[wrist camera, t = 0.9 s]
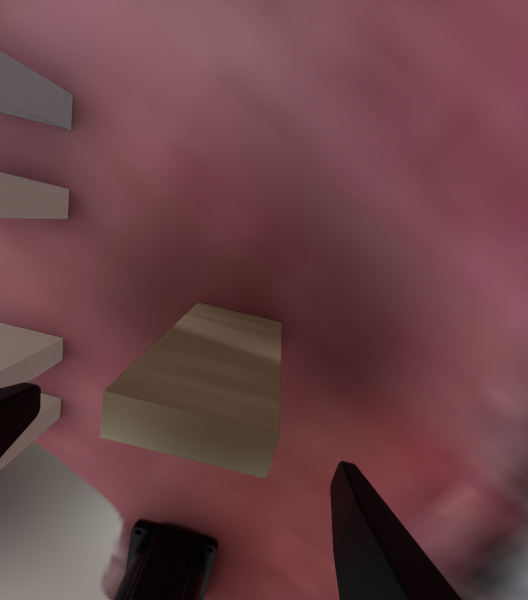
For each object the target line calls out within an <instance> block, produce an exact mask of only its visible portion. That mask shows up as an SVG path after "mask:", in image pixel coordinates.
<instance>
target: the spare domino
mask: <svg viewBox="0 0 528 600" xmlns="http://www.w3.org/2000/svg"><path fill="white" fill-rule="evenodd" d="M281 331H282V323H281V322H277V321H273V320H269V319H265V318H261V317H257V316H253V315H249V314H245V313H241V312H236V311H232V310H228V309H224V308H220V307H216V306H212V305H208V304H204V303H200V302H198V303H197V304H196V305H195V306H194V307H193V308H192V309H191V310H190V311H189V312H188V313H187V314H185V315H184V316H183V317H182V318H181V319H180V320H179V321H178V322H177V323H176V324H175V325H174V326H173V327H172V328H170V329H169V330H168V331H167V332H166V333H165V334H164V335H163V336H162V337H161V338H160V339H159V340H158V341H157V342H156V343H154V344H153V345H152V346H151V347H150V348H149V349H148V350H147V351H146V352H145V353H144V354H143V355H142V356H141V357H139V358H138V359H137V360H136V361H135V362H134V363H133V364H132V365H131V366H130V367H129V368H128V369H127V370H126V371H125V372H123V373H122V374H121V375H120V376H119V377H118V378H117V379H116V380H115V381H114V382H113V383H112V384H111V385H110V386H108V387H107V388H106V389H105V390H104V394H103V405H102V416H101V428H100V437H101V438H105V439H109V440H113V441H117V442H121V443H125V444H129V445H133V446H137V447H141V448H145V449H149V450H153V451H157V452H161V453H165V454H169V455H173V456H177V457H181V458H185V459H189V460H193V461H197V462H201V463H205V464H209V465H213V466H217V467H221V468H225V469H229V470H233V471H237V472H241V473H245V474H249V475H253V476H257V477H261V478H265V479H266V477H267V474H268V471H269V467H270V464H271V461H272V458H273V454H274V451H275V448H276V445H277V441H278V438H279V435H280V384H281Z"/></svg>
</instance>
